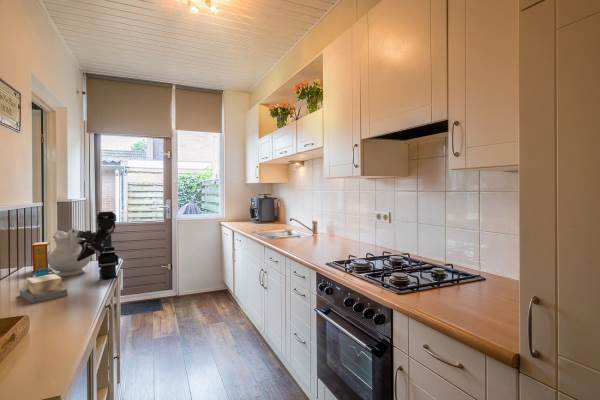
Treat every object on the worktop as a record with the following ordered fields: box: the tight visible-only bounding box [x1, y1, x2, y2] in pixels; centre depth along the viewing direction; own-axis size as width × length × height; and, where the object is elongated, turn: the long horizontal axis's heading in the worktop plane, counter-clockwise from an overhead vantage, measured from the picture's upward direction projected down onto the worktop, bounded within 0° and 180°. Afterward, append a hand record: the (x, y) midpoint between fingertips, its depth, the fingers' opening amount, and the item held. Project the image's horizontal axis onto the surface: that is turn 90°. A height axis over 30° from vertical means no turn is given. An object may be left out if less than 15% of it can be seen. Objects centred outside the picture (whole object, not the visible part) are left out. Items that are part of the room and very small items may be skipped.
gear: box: [29, 268, 56, 278], centre depth 158 cm, size 11×6×10 cm
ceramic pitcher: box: [48, 228, 92, 277], centre depth 176 cm, size 22×20×25 cm
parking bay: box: [18, 287, 68, 304], centre depth 140 cm, size 12×18×2 cm
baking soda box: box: [31, 241, 52, 274], centre depth 184 cm, size 10×6×16 cm
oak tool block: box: [26, 273, 63, 296], centre depth 141 cm, size 10×11×8 cm
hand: (77, 260), depth 151 cm, fingers closed
